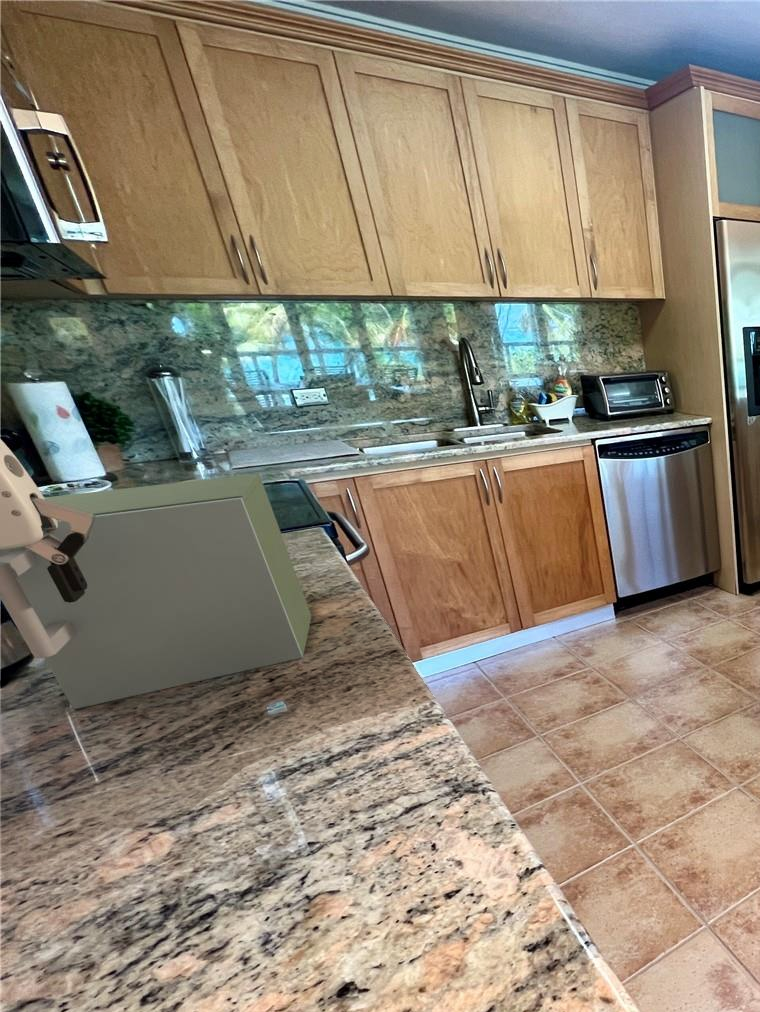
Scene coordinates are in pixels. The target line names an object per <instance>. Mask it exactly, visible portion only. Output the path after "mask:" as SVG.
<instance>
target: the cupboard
mask: <svg viewBox="0 0 760 1012" xmlns="http://www.w3.org/2000/svg"><path fill="white" fill-rule="evenodd" d="M206 479H207V480H198V481H189V482H182V481H179V482H180V483H178V482H171V483H164V484H163V483H162V484H154V485H145V486H136V487H125V488H117V489H108V490H107V489H106V490H100V491H99V490H98V491H92V492H91V491H90V492H81V493H71V494H63V495H55V496H46V497H45V496H43V497H44V498H45V500H47V501H50V502H54V503H57V504H61V505H64V506H68V507H72V508H75V509H79V510H82V511H86V512H89V513H92V514H94V515H103V514H112V513H120V512H128V511H136V510H144V509H152V508H160V507H168V506H176V505H184V504H192V503H200V502H209V501H217V500H225V499H233V498H241V497H242V499H243V501H244V504H245V506H246V509H247V512H248V514H249V517H250V519H251V522H252V525H253V527H254V530H255V532H256V535H257V537H258V540H259V543H260V545H261V548H262V550H263V553H264V556H265V558H266V561H267V563H268V566H269V569H270V571H271V574H272V576H273V579H274V581H275V584H276V587H277V589H278V592H279V594H280V597H281V600H282V602H283V605H284V607H285V610H286V613H287V615H288V618H289V620H290V623H291V626H292V628H293V631H294V633H295V636H296V638H297V641H298V644H299V646H300V649H301V651H302V654H303V656H304V654H305V650H306V646H307V645H306V644H307V640H308V636H309V631H310V625H311V621H312V613H311V610H310V608H309V605H308V603H307V599H306V597H305V594H304V591H303V589H302V586H301V583H300V581H299V578H298V574H297V572H296V570H295V567H294V564H293V562H292V558H291V556H290V553H289V551H288V548H287V546H286V542H285V539H284V537H283V535H282V532H281V529H280V527H279V524H278V521H277V519H276V516H275V513H274V510H273V507H272V505H271V502H270V500H269V497H268V494H267V491H266V489H265V486H264V483H263V481H262V477H261V475H260V473H251V474H243V475H235V476H234V475H233V476H226V477H225V476H224V477H218V478H206ZM56 520H57V519H56Z"/></svg>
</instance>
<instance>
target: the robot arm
mask: <svg viewBox="0 0 760 1012" xmlns="http://www.w3.org/2000/svg"><path fill="white" fill-rule="evenodd" d="M44 497H45V496H44V495H43V493H42V492H41V491H40V489H39V488H38V486H37V484H36V483H35V482H34V480H33V478H32V477H31V476H30V473H28V471H27V470H26V469H25V467H24V466H23V464H22V463H21V462H20V460H19V459H18V458H17V456H16V455H15V454H14V453H13V451H12V450H11V449H10V448H9V447H8V446H7V444H6V443H5V442H4V441H3V440H2V439H1V438H0V550H2V549H9V548H15V547H22V546H24V547H26V548H28V549H30V550H32V551H33V552H35V553H37V554H39V555H41V556H42V557H44V558H46V559H48V560H49V561H50V563H51V565H50V566H49V567H47V570H48V572H49V574H50V576H51V577H52V579H53V581H54V583H55V585H56V587H57V589H58V590H59V592H60V594H61V596H62V598H63V600H64V601H65V602H68V603H70V602H76V601H77V600H78V599H79V598H81V597H82V596H83V595H84V594H85V589H87V582H86V580H85V578H84V576H83V574H82V572H81V570H80V569H79V567H78V565H77V563H76V561H75V559H74V556H75V555H76V554H77V552H78V551H79V550H80V549H81V547H82V546H83V545H84V544H85V542H86V541H87V540H88V538H89V534H90V532H91V530H92V527H93V525H94V523H95V520H96V516H95V515H94V514H92V513H89V512H86V511H82V510H79V509H75V508H72V507H68V506H64V505H61V504H57V503H54V502H50V501H47V500H45V498H44ZM56 519H57V520H61V521H65V522H67V523H69V524H70V526H71V528H70V531H69V534H68V536H67V537H66V538H65V539H64V541H62V540H61V539H59V538H57V537H56V536H54V535H52V534H50V533H52V532H54V531H55V530H57V528H58V523H57V520H56Z"/></svg>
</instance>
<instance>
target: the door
mask: <svg viewBox="0 0 760 1012" xmlns="http://www.w3.org/2000/svg"><path fill="white" fill-rule="evenodd" d="M95 516H96V520H95V523H94V525H93V527H92V530H91V532H90V534H89V538H88V540H87V541H86V542H85V544H84V545H83V546H82V547H81V549H80V550H79V551H78V552H77V554H76V555H75V556H74V559H75V561H76V563H77V565H78V567H79V569H80V570H81V572H82V574H83V576H84V578H85V580H86V582H87V589H85V594H84V595H83V596H82V597H81V598H79V599H78V600H77V601H76V602H70V603H68V602H65V601H64V600H63V598H62V596H61V594H60V592H59V590H58V589H57V587H56V585H55V583H54V581H53V579H52V577H51V576H50V574H49V572H48V570H47V567H49V566H50V565H51V563H50V561H49V560H48V559H46V558H44V557H42V556H41V555H39V554H37V553H35V552H33V551H32V550H30V549H28V548H26V547H24V546H22V547H15V548H9V549H2V550H0V600H1V602H2V604H3V605H4V608H5V609H6V611H7V612H8V614H9V616H10V618H11V619H12V621H13V623H14V624H15V626H16V628H17V630H18V632H19V633H20V635H21V636H22V638H23V640H24V642H25V643H26V645H27V647H28V648H29V650H30V652H31V654H32V655H33V657H34V658H35V659H38V660H39V659H40V660H41V659H44V660H45V662H46V664H47V666H48V668H49V669H50V671H51V673H52V674H53V676H54V678H55V680H56V682H57V683H58V685H59V687H60V688H61V690H62V692H63V694H64V695H65V697H66V699H67V700H68V702H69V705H70V706H71V708H72V710H78V709H82V708H87V707H91V706H96V705H100V704H104V703H109V702H113V701H117V700H122V699H127V698H130V697H135V696H139V695H144V694H150V693H154V692H159V691H161V690H166V689H170V688H176V687H179V686H184V685H188V684H193V683H197V682H202V681H206V680H211V679H215V678H219V677H224V676H228V675H232V674H237V673H241V672H245V671H246V672H247V671H250V670H254V669H260V668H263V667H269V666H271V665H272V666H273V665H277V664H281V663H285V662H289V661H295V660H297V659H298V660H300V659H303V657H304V655H303V654H302V651H301V649H300V646H299V644H298V641H297V638H296V636H295V633H294V631H293V628H292V626H291V623H290V620H289V618H288V615H287V613H286V610H285V607H284V605H283V602H282V600H281V597H280V594H279V592H278V589H277V587H276V584H275V581H274V579H273V576H272V574H271V571H270V569H269V566H268V563H267V561H266V558H265V556H264V553H263V550H262V548H261V545H260V543H259V540H258V537H257V535H256V532H255V530H254V527H253V525H252V522H251V519H250V517H249V514H248V512H247V509H246V506H245V504H244V501H243V499H242V497H241V498H233V499H225V500H217V501H209V502H200V503H192V504H184V505H176V506H168V507H160V508H152V509H144V510H136V511H128V512H120V513H112V514H103V515H95ZM57 523H58V528H57V530H55V531H54V532H52V533H50V534H52V535H54V536H56V537H57V538H59V539H61V540H62V541H64V539H65V538H66V537H67V536H68V534H69V531H70V528H71V526H70V524H69V523H67V522H65V521H61V520H57Z"/></svg>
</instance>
